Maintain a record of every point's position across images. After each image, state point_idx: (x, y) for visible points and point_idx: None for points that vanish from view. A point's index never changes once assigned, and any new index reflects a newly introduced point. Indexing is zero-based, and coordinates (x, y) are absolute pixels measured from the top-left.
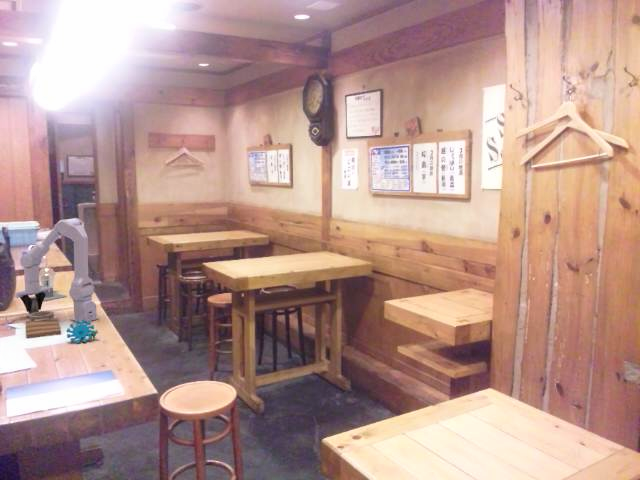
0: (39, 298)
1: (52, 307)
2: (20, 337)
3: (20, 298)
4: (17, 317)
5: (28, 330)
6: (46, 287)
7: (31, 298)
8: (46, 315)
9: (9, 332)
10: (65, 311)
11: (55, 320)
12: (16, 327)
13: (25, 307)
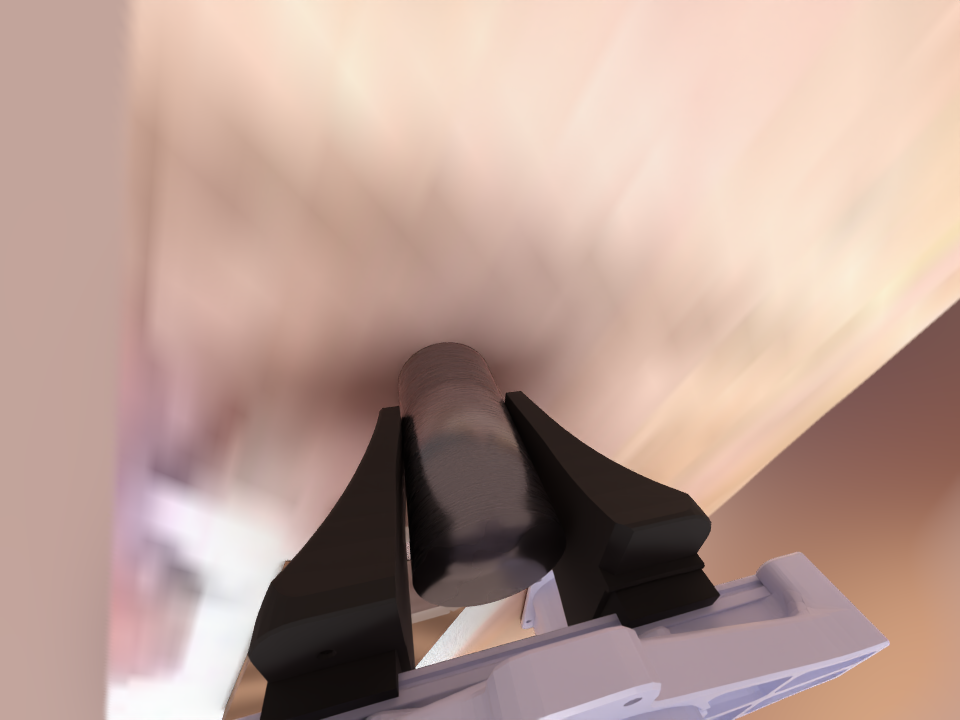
0: (559, 560)
1: (757, 186)
2: (197, 699)
3: (279, 576)
4: (287, 321)
5: (244, 704)
6: (866, 651)
7: (469, 567)
8: (425, 616)
9: (140, 641)
10: (662, 410)
11: (441, 621)
12: (206, 580)
13: (370, 441)
